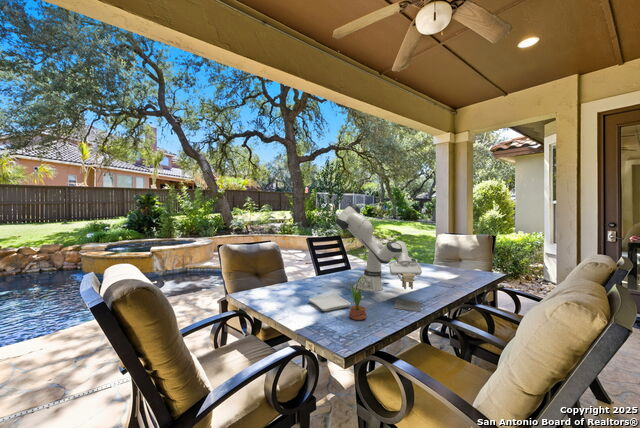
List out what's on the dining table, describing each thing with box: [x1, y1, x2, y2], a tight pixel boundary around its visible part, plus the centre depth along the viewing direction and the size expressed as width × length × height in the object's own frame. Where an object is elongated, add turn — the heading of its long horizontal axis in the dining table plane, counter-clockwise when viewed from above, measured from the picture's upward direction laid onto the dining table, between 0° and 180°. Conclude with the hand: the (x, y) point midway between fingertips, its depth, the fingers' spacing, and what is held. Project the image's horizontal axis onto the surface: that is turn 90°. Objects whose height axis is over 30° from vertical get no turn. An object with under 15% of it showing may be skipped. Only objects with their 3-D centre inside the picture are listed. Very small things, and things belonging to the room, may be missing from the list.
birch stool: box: [400, 273, 414, 290], centre depth 183 cm, size 6×6×9 cm
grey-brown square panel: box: [393, 299, 422, 313], centre depth 183 cm, size 16×16×1 cm
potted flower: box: [348, 275, 370, 321], centre depth 163 cm, size 12×10×25 cm
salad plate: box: [308, 293, 352, 312], centre depth 183 cm, size 21×21×3 cm
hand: (407, 280), depth 182 cm, fingers closed on birch stool, 6 cm apart
